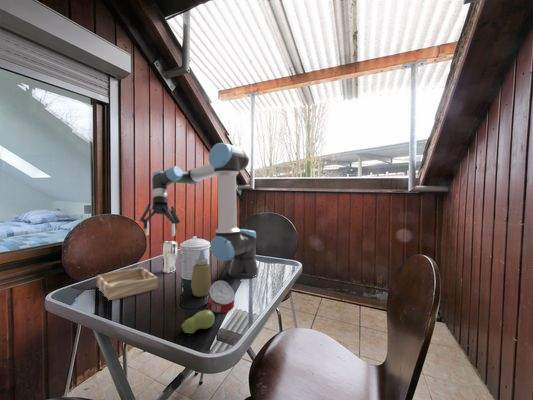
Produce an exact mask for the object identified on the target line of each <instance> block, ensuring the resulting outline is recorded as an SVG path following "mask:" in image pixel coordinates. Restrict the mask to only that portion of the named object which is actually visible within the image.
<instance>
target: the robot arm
mask: <svg viewBox="0 0 533 400" xmlns="http://www.w3.org/2000/svg"><path fill="white" fill-rule="evenodd" d="M208 162H209V163H207V164H204V165H201V166H198V167H195V168H192V169H189V170H183V169H181V167H179V166H178V165H174V166H171V167H169V168H167V169H166V170H165V171H163V170H157V171H154V172H153V173H152V178H151V181H152V182H151V183H152V185H151V186H152V205H151V204H150V203H148V204H147V205H146V208H145V210H144V212H143V214H142V216H141V217H140V219H139V222H142V224H143V229H144V230H145V236H146V237H147V236H149V235H150V222H149V220H150V219H151V218H152V217H153V216H154V215H155V214H156V215H162V216H165V217H166V218H167V219H168V220H169V221H170V222H171V223H172V224H171V237H174V236H176V230H177V227H178V224H180V222H181V221H180V219H179V217H178V215H177V213H176V211H175V208H174V206H171V207H170V206H168V204H169V202H168V186H170V185H172V184H187V185H188V184H190V185H196V184H198V183H199V182H200V181H203V180H206V179H210V178H214V177H217V211H218V212H217V217H218V220H217V221H218V228H217V229H216V230H215V232H214V236H215V237H213V238H212V239H211V241H210V245H209V246H210V248H209V249H210V253H212V255H213V257H215V259H216V260H218V261H220V262H227V261H231V263H230V266H229V268H228V275H229V276H230V277H232V278H234V279H235V278H236V279H251V278H250V277H253V276H255V275H257V274H258V275H259V268H258V265H257V260H256V250H257V248H256V247H257V232H256V230H251V229H244V228H239V227H238V216H237V215H238V211H237V210H238V209H237V176H238V175H239V173H240V172H241V171H243V170H245V169H246V168H247V167H248V166H249V163H250V157H249V154H248V152H247V151H246V150H245V149H243V148H242V147H239V146H235V145H232V144H230V143H228V142H227V143H224V142H218V143H215V144H214V145H213V146H212V148H211V149H210V151H209V153H208ZM151 209H152V210H153V211H152V212H151V213H150V214H149V215H148V216H147V214H148V213H149V211H150V210H151ZM146 216H147V217H146ZM258 275H257V276H258ZM255 277H256V276H255ZM253 278H254V277H253Z"/></svg>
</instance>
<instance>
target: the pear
mask: <svg viewBox="0 0 533 400" xmlns="http://www.w3.org/2000/svg"><path fill="white" fill-rule="evenodd" d="M215 318H216V317H215V314H214V312H212V311H210V310H208V309H203V310H200V311H198V312H197V313H195V314H194V315H193V316H192V317H189V318H187V319H186V320H184V322H182V324H181V328H182V330H183V332H184V334H185V333H190V334H191V333H193V334H194V333H195V332H196V331H198V330H206V329H207V330H208V329H209V328H212V326H213V325H214V322H215V321H216V320H215Z"/></svg>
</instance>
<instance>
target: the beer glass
mask: <svg viewBox="0 0 533 400" xmlns="http://www.w3.org/2000/svg"><path fill="white" fill-rule="evenodd" d="M162 246H163V247H162V256H163V257H162V258H163V263H164V264H163V265H164V266H163V271H162V272H163V273H166V274H171V273H170V272H172V273H174V272H173V271H175V270H176V271H177V267H176V261H177V257H178V241H175V240H169V241H168V240H167V241H164V242H163V245H162ZM176 271H175V272H176Z"/></svg>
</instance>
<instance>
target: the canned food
mask: <svg viewBox="0 0 533 400" xmlns="http://www.w3.org/2000/svg"><path fill="white" fill-rule="evenodd" d="M208 295H209V296H208V297H207V301H206V302H207V305H206V306H207V307H206V308H207V310H210V311H212V312H213V313H227V312H230V311H231V309H232V308H233V307H234V308H235V298H236V297H235V296H236V295H235V291H234V289H233V288H232V286H231V285H229V283H228V282H227V281H225V280H217V281H214V282H213V283H211V287H210V289H209V292H208ZM234 308H233V309H234ZM233 309H232V310H233ZM229 310H230V311H229Z"/></svg>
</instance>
